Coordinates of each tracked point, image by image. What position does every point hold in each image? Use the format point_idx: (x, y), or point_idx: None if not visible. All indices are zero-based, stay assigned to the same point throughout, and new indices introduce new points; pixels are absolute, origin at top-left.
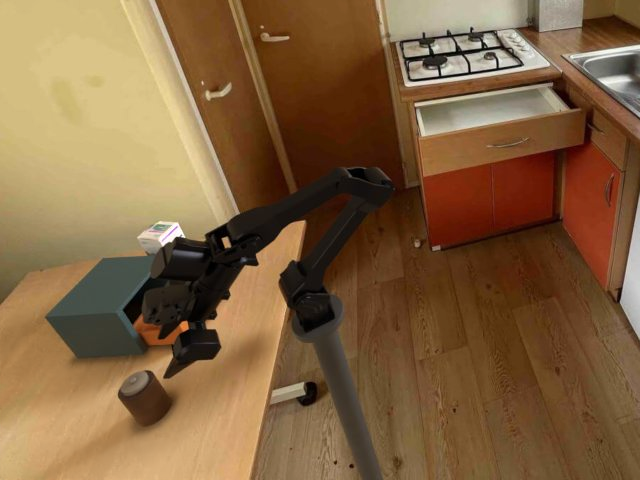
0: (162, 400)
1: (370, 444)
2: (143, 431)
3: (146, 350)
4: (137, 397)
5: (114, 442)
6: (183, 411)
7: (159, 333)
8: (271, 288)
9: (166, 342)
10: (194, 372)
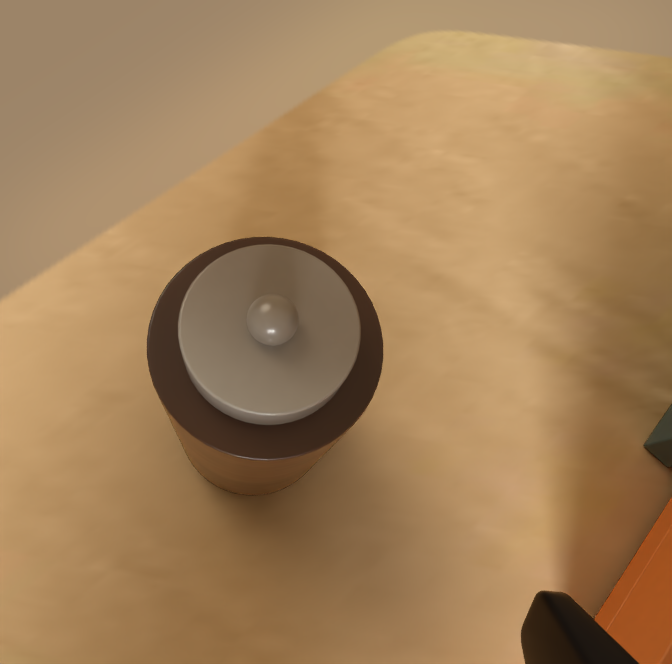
0: (193, 459)
1: None
2: None
3: (660, 459)
4: (150, 328)
5: None
6: (127, 529)
7: (592, 639)
8: None
9: (645, 555)
10: (335, 637)
